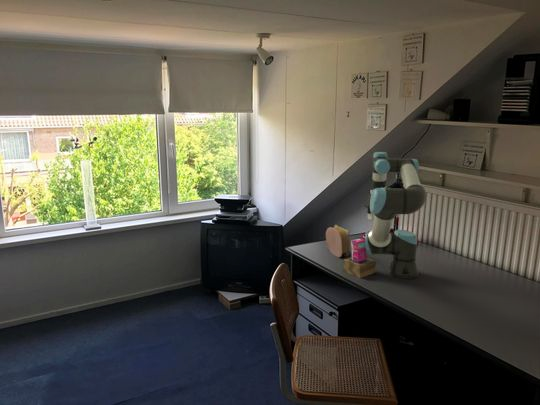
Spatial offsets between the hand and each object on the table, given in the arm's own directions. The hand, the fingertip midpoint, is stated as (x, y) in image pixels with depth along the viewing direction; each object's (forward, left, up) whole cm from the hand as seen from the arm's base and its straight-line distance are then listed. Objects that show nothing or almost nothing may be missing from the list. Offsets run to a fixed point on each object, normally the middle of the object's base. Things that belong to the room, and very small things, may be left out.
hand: (377, 216), depth 250 cm
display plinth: (-6, +20, -26) cm, 34 cm away
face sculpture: (+22, +9, -27) cm, 36 cm away
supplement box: (-6, +21, -20) cm, 29 cm away
